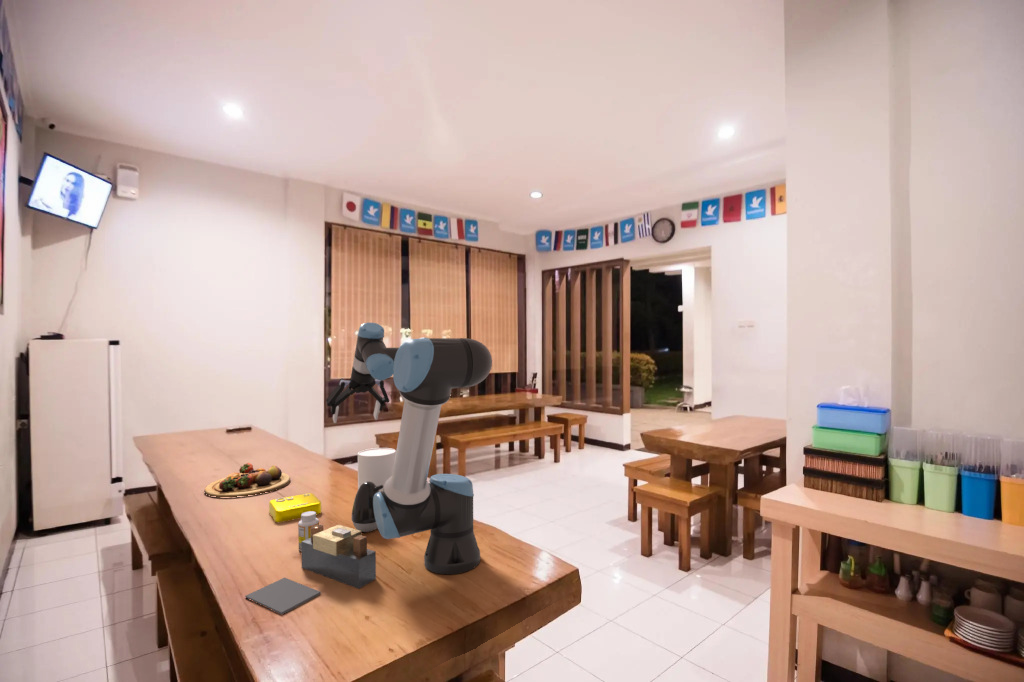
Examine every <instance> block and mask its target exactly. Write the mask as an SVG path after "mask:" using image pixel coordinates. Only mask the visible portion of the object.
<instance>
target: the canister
mask: <svg viewBox="0 0 1024 682" xmlns="http://www.w3.org/2000/svg"><path fill="white" fill-rule="evenodd" d="M395 455H396V449H395V448H391V447H390V448H389V447H373V448H366V449H363V450H360V451H358V452H357V490H358V489H359V487H360V486H361V485H362V484H363V483H365V482H373V483H374V484H375V485H376V486H380V485H383V488H382V489H380V490H379V492H383V490H384V485H385V482H386V481H387V480H388V479H389V478H390V477H391V476H392V474H393V467H394V461H395Z"/></svg>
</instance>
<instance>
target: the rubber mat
mask: <svg viewBox="0 0 1024 682" xmlns="http://www.w3.org/2000/svg"><path fill="white" fill-rule="evenodd" d="M320 595H322V593H321V591H320V590H317V589H315V588H313V587H310V586H308V585H305V584H302V583H300V582H297V581H294V580H292V579H289V578H288V577H283V578H280V579H279V580H276V581H274V582H272V583H270V584H267V585H266V586H264V587H261V588H259V589H257V590H255V591H252V592H250V593H248V594H246V595H245V597H246V598H248V599H251V600H253V601H255V602H257V603H259V604H261V605H264V606H266V607H267V608H270V609H272V610H273V611H272V610H271V611H272V612H274V611H275V612H274V613H276V612H278V613H279V614H278V613H277V614H278V615H280V614H281V616H283V615H285V614H286V612H287V613H288V612H290V611H292V610H294V609H296V608H298V607H300V606H301V605H303V604H305V603H307V602H309V601H311V600H312V599H315V598H316V597H318V596H320ZM245 597H244V598H245ZM246 598H245V599H246ZM248 599H247V600H248ZM257 603H256V604H257ZM259 604H258V605H259ZM261 605H260V606H261ZM267 608H266V609H267ZM270 609H269V610H270ZM284 613H285V614H284ZM282 614H283V615H282Z"/></svg>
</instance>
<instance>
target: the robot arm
mask: <svg viewBox="0 0 1024 682" xmlns="http://www.w3.org/2000/svg"><path fill="white" fill-rule="evenodd" d="M384 338H385V329H384V327H383V326H382V325H381V324H378V323H377V322H364V323H362V324H360V326H359V328H358V332H357V337H356V346H355V350H354V357H353V362H352V369H351V372H350V373H351V374H350V378H349V379H348V380H344V378H340V379H339V381H338V384H337V386H336V387H335V388H334V389H333V390H332V391H331V393H330V395H329V396H328V397H327V398H326V399H325V403H326V405H327V407H330V413H331V415H332V421H333V424H337V421H338V416H339V410H340V407H339V405H341V404H342V403H343V402H345V400H346V399H348V398H349V397H350V396H352V395H354V394H355V393H356V394H359V393H364V394H365V393H367V392H368V393H370V395H372V396H373V398H374V399H376V400H375V405H374V410H373V417H374V420H375V421H377V420H378V419H379V414H380V412H381V411H382V410H383V408H384V406H385V405H386V403H390V399H389V396H388V393H387V392H386V391H387V390H386V389H385V380H386V379H389V378H391V377H393V384H394V386H395V387H396V389H397V390H398V392H399V394H400V396H401V397H402V399H403V400H404V403H403V407H402V415H401V420H400V426H399V431H398V432H399V433H398V437H397V445H396V449H395V450H396V455H395V461H394V467H393V474H392V476H391V477H390V478H389V479H388V480H387V481H386V482H385V485H384V490H383V492H378V493H376V494H375V495H374V497H373V508H374V515H375V520H376V524H377V527H378V528H377V530H378V532H379V534H380V536H381V537H382V538H383V539H385V540H391V539H392V540H393V539H399V538H403V537H407V536H411V535H414V534H415V535H416V534H418V533H419V534H420V533H422V532H427V531H430V536H429V538H428V542H427V545H426V549H425V552H424V556H423V557H424V560H423V561H424V567H425V568H426V569H427V570H428V571H430V572H432V573H435V574H440V575H455V574H462V573H466V572H468V571H471V570H473V569H475V568H476V567H477V566H478V565H479V564H480V563H481V551H480V548H479V545H478V542H477V539H476V535H475V533H474V532H475V531H474V496H475V494H474V488H473V487H474V486H473V482H472V480H471V479H470V478H468V477H467V476H463V475H461V474H460V475H459V474H453V473H438V474H437V473H436V474H433V475H431V476H430V478H429V482H428V481H427V480H428V475H429V471H430V464H431V461H432V455H433V449H434V444H435V440H436V435H437V429H438V424H439V419H440V414H441V409H442V406H443V405H446V404H447V403H448V402H449V400H450V398H451V397H450V396H451V392H452V389H461V388H470V387H474V386H476V385H479V384H481V382H483V381H484V380H485V379H486V378H487V377H488V376H489V375H490V373H491V370H492V367H493V358H492V353H491V351H490V350H489V349H488V347H487V345H484V344H483V343H482V342H481V341H478V340H477V339H472V338H467V337H466V338H464V337H462V338H461V337H459V338H456V337H455V338H451V337H449V338H448V337H446V338H444V337H442V338H441V337H439V338H433V337H431V338H430V337H420V338H409V339H406V340H405V341H404V342H402V343H401V344H400V345H399V347H387V346H386V344H385V342H384ZM375 385H377V386H378V387H379V389H380V391H381V393H382V396H383V397H382V396H381V394H379V393H378V391H377V390H376V389H375V388H374V387H375Z"/></svg>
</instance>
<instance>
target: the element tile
mask: <svg viewBox="0 0 1024 682" xmlns="http://www.w3.org/2000/svg"><path fill="white" fill-rule="evenodd" d="M268 508H269V509H268V513H269V512H270V513H269V515H270V514H271V515H272V516H271V515H270V516H271V518H272V517H273V518H272V520H273V521H274V522H275V523H278V522H279V523H284V522H283V521H285V522H290V521H294V520H293V519H295V520H299V519H298V518H300V519H301V514H302V513H305V512H309V511H314V512H316V514H318V515H320V514H321V513H322V501H321V500H320V499H319V498H318V497H317V496H316V495H315V494H314V493H311V492H308V493H307V492H306V493H303V494H301V493H300V494H297V495H291V496H286V497H285V496H284V497H278V498H275V499H274V498H273V499H271V500H269V503H268ZM319 513H320V514H319ZM289 520H290V521H289Z"/></svg>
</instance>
